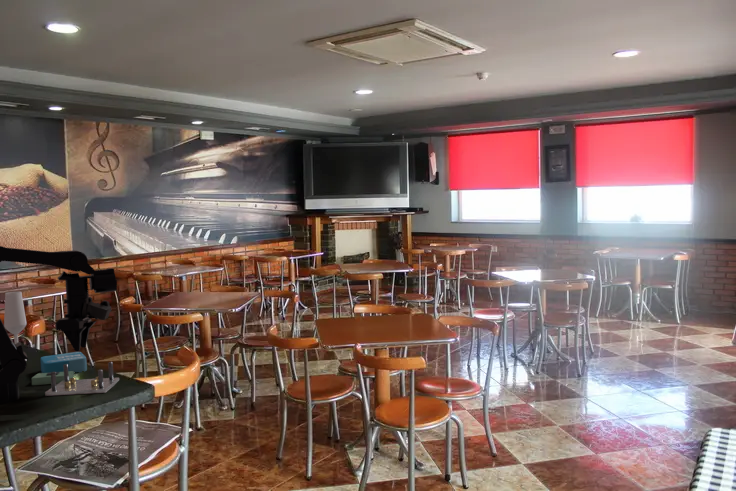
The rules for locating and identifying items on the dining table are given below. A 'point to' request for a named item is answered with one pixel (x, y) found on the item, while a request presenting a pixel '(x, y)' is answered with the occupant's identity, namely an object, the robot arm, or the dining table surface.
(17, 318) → the champagne flute
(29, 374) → the dining table surface
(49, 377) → the board
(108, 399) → the dining table surface
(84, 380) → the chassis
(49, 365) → the data package
